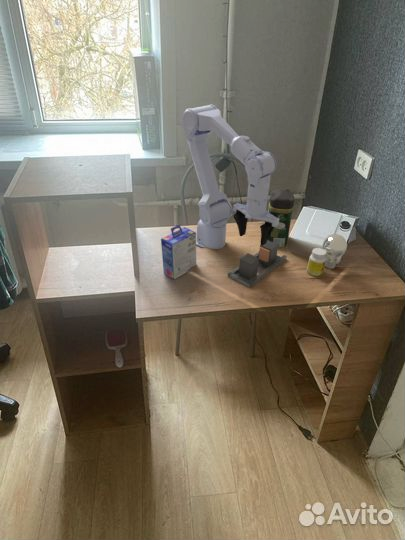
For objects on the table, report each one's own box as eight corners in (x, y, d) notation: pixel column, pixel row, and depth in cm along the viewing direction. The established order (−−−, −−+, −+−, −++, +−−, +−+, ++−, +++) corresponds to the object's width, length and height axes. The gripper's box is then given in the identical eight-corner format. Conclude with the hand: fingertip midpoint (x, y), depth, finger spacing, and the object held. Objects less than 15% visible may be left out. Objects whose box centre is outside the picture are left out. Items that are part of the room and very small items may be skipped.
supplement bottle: (322, 280, 118) (328, 256, 113) (306, 277, 118) (311, 254, 114) (321, 271, 122) (327, 248, 117) (306, 269, 122) (310, 246, 117)
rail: (227, 279, 117) (228, 273, 116) (264, 252, 129) (265, 246, 128) (249, 290, 113) (250, 284, 111) (285, 261, 125) (286, 256, 124)
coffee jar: (264, 234, 139) (270, 185, 129) (286, 236, 138) (295, 187, 128) (263, 248, 131) (270, 197, 121) (287, 251, 131) (296, 199, 120)
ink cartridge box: (184, 259, 125) (184, 219, 117) (197, 266, 122) (197, 225, 114) (161, 272, 119) (159, 231, 111) (174, 280, 116) (173, 238, 108)
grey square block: (238, 275, 117) (239, 258, 113) (247, 268, 120) (249, 252, 116) (249, 280, 115) (251, 263, 111) (258, 274, 118) (260, 257, 114)
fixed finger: (257, 261, 123) (259, 245, 120) (265, 256, 126) (267, 240, 122) (267, 266, 121) (270, 250, 117) (275, 260, 124) (278, 244, 120)
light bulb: (313, 268, 122) (320, 235, 115) (324, 259, 127) (332, 227, 120) (333, 278, 119) (342, 244, 112) (344, 268, 123) (353, 235, 116)
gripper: (228, 194, 110) (225, 235, 118) (271, 210, 103) (265, 253, 111) (242, 186, 115) (239, 227, 123) (285, 201, 107) (279, 244, 115)
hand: (252, 239), depth 117 cm, fingers open, 7 cm apart
